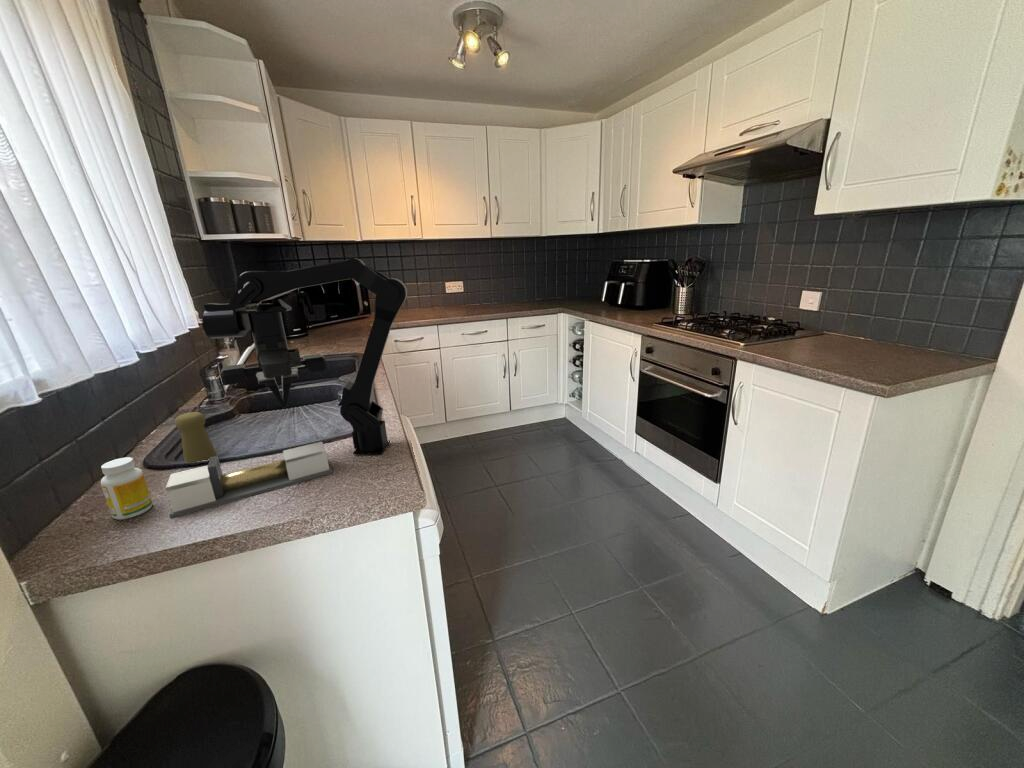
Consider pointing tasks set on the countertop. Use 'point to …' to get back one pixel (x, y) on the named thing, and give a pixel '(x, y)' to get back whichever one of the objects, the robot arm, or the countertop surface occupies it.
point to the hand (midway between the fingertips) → (284, 407)
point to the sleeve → (306, 460)
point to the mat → (251, 490)
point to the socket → (190, 488)
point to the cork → (194, 437)
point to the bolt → (242, 475)
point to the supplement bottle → (125, 488)
